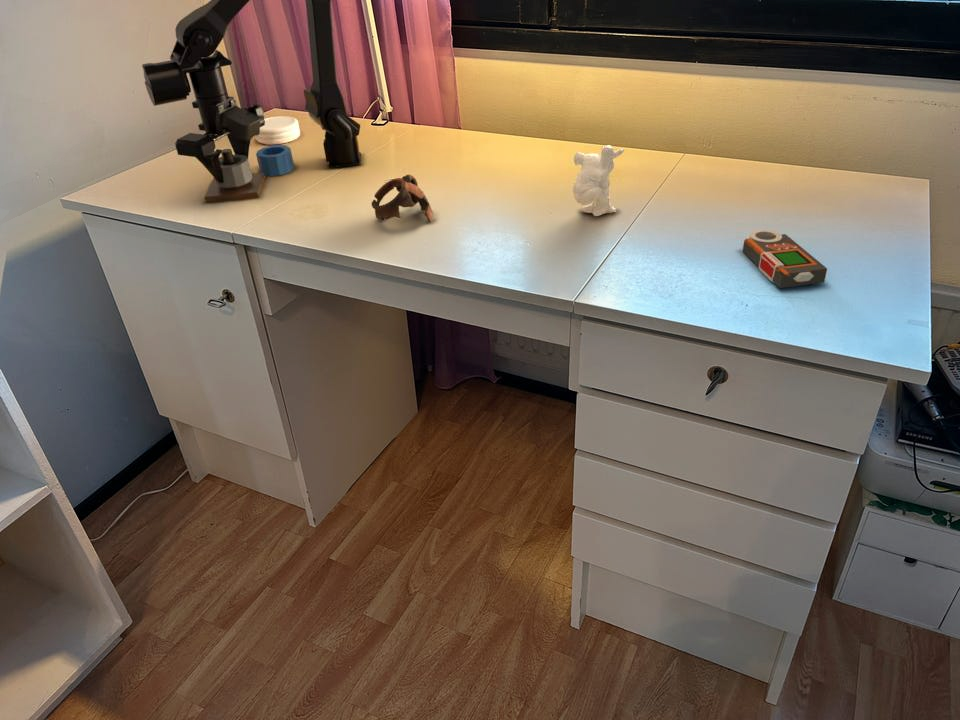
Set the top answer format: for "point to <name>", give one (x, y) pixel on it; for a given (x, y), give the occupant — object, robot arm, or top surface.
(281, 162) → the blue ring
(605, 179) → the koala figurine
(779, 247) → the electronic device
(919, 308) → the top surface
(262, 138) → the coaster
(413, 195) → the brown looped band
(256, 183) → the tape stand
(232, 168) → the grey thick polygonal ring
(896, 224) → the top surface
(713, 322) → the top surface
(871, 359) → the top surface
